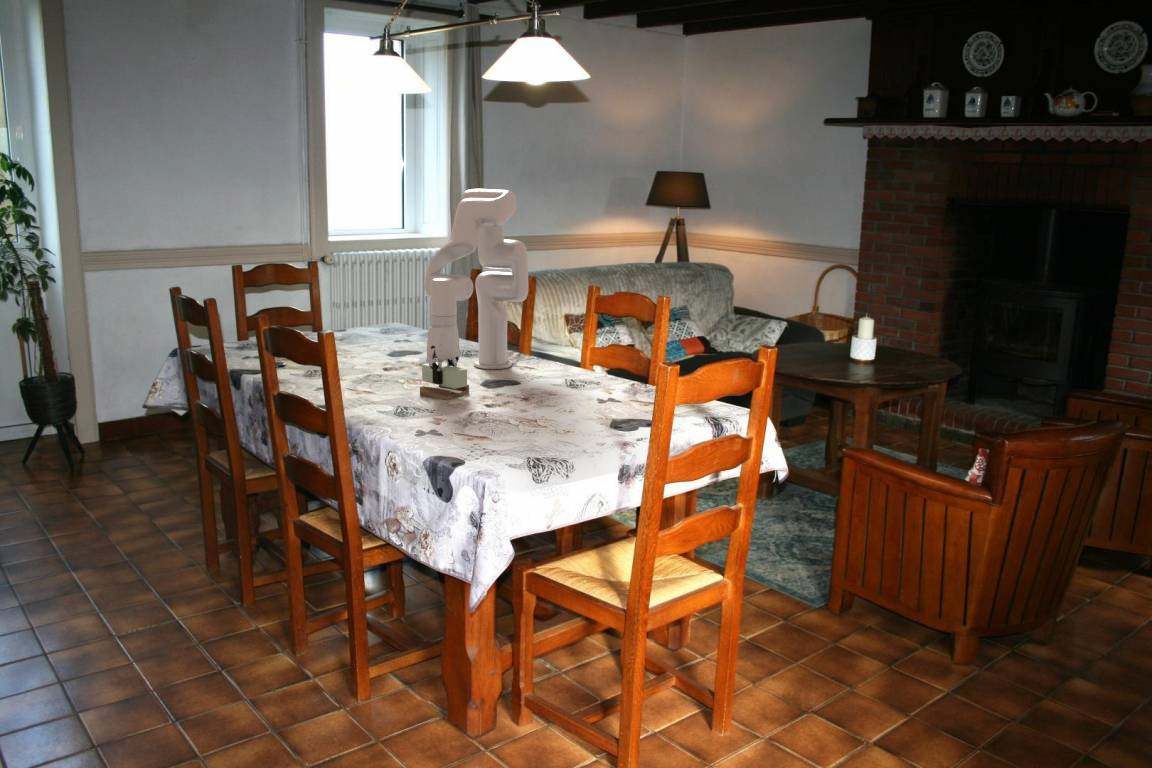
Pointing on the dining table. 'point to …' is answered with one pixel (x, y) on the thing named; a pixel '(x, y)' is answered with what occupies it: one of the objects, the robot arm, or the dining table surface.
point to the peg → (446, 375)
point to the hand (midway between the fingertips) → (444, 381)
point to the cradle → (443, 392)
